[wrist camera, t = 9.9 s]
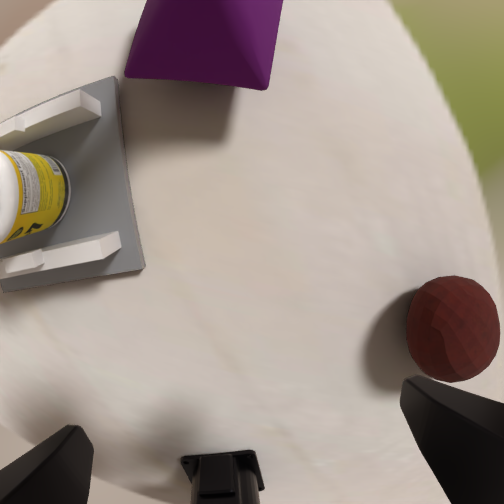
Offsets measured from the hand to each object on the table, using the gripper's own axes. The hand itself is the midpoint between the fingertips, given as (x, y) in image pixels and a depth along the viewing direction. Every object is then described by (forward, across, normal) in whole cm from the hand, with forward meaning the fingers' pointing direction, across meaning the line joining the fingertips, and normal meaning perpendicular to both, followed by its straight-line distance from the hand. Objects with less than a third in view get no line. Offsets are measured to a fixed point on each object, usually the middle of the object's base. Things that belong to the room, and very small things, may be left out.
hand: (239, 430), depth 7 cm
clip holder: (+12, +11, -8) cm, 18 cm away
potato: (+13, -15, +6) cm, 21 cm away
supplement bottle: (+12, +11, -8) cm, 18 cm away
